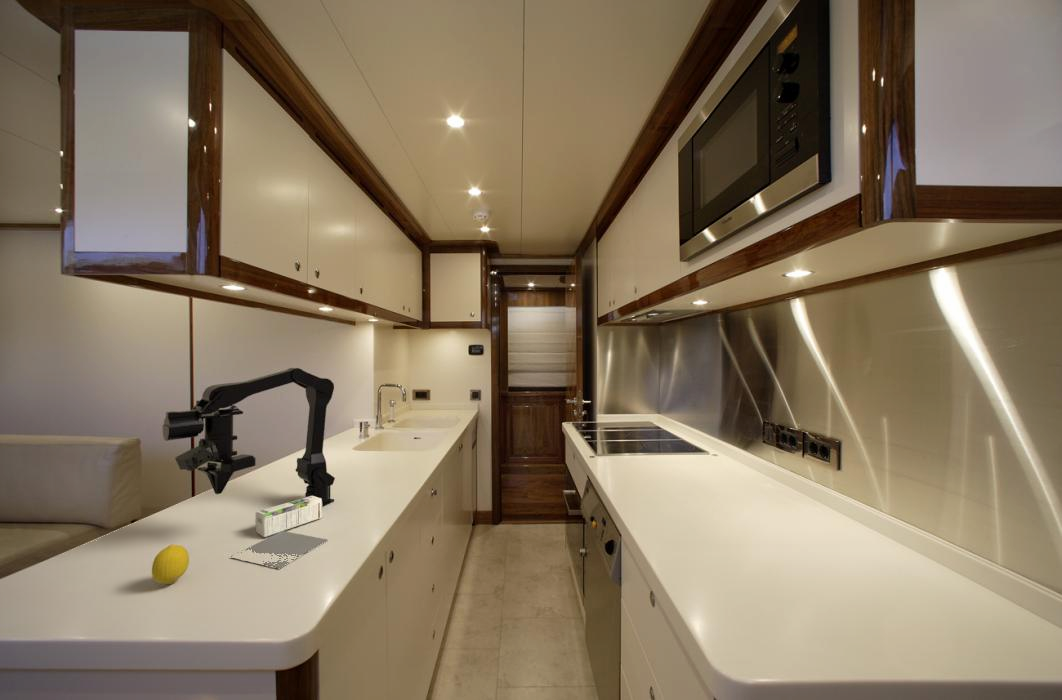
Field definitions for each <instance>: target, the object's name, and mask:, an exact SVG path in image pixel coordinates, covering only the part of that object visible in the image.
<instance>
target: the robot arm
mask: <svg viewBox="0 0 1062 700" xmlns="http://www.w3.org/2000/svg"><path fill="white" fill-rule="evenodd" d="M291 383H294V384H296V385H297V386H299V387H301V388H303V389H305V397H306V400H307V402H308V403H307V404H308V406H309V409H308V418H307V419H308V420H307V432H306V441H305V452H304V454H303V456H302V457H297V458H296V468H295V470H294V471H295V472H296V473H297V477H299V478H300V479H301V480H303V483H304V484H306V485H307V486H306V488H305V489H306V490H305V491H306V492H305V494H304V496H305V497H304V498H306V497H309V496H315V497H318V498H321V499H322V508H323V507H325V506H327V505H329V504H331V503H333V502H334V501H335V499H334V498H331V486H333V484H334V483H335V479H336V477H334V476H333V475H332V474H330V473H329V472H328V469H327V461H326V458H325V455H324V438H325V430H326V429H325V428H326V417H327V407H328V405H329V404H330V402H331V400H332V399H333V398H332V397H333V394H334V391H335V390H334V389H335V384H334V382H333V381H332V380H331V379H330V378H326V377H319V376H317V375H315V374H312V373H310V372H307V371H305V370H303V369H301V368H300V367H290V368H289V367H288V368H287V369H285V370H282V371H277V372H274V373H269V374H267V375H264V376H259V377H256V378H252V379H248V380H244V381H238V382H227V383H220V384H213V385H210V386H208V387H206V388H205V389H204V391H203V392H202V395H201V396H202V398H200V400H199V401H198V402H197V403H196V404H195V405H194V406H193V408H192V409H191V410H181V411H175V410H174V411H166V412H165V418H164V421H163V424H162V436H163V439H164V440H163V441H165V442H168V441H175V440H183V439H189V438H195V437H198V436H199V434H202V433H203V432H204V437H203V438H200V439H199V441H198V445H197V446H195V447H194V448H190V449H188V450H187V451H185V452H183V453H181V454H179V455H177V456H175V458H174V459H175V462H176V463H177V466H178V468H179V470H186V471H188V472H191V471H194V470H196V469H197V471H199V472H202V473H203V474H205V475H207V478H208V480H209V482H210V485H211V487H212V489H213V491H214V494H215V495H219V494H222V493H223V491H224V490H225V488H226V486H227V485H228V482H229V480H230V479H231V477H232V476H233V474H234V473H235V472H237V471H241V470H245V469H249V468H252V467H255V466H256V465H257V463H256V460H257V459H256V457H255V456H254V455H251V454H244V453H241V454H239V455H238V450H234V441H237V440H238V435H234V416H236V415H243V414H244V411H243V410H240V408H238V406H237V405H235V404H238V403H240V402H242V401H243V400H245V399H247V398H248V397H250V396H253V395H255V394H258V393H263V392H266V391H268V390H272V389H275V388H279V387H282V386H286V385H289V384H291Z"/></svg>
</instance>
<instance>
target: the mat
mask: <svg viewBox="0 0 1062 700" xmlns="http://www.w3.org/2000/svg"><path fill="white" fill-rule="evenodd" d="M326 541H327V542H328V539H326V538H321V537H315V536H312V535H310V536H309V535H307V534H306V535H305V534H300V533H296V532H290V531H287V530H284V531H282V532H279V533H276V534H273V535H270V536H268V537H267V538H264V539H263V540H261V541H259V542H257V543H255V544H253V545H251V546H249V547H247V548H245V549H246V550H248V549H249V550H251V549H252V552H253V553H254V551H255V552H256V553H260V554H261V553H264V554H265V553H269V554H272V553H274V554H275V555H277V554H281V555H282V554H284V555H283V556H286V557H288V556H287V555H286V554H288V555H291V556H296V554H297V556H296V557H299V555H302V554H304V553H306V552H308V551H309V550H311V549H313V548H315V547H317V546H318V545H320V544H322V543H323V544H325V543H326ZM324 542H325V543H324ZM323 544H322V545H323ZM320 546H321V545H320ZM250 547H251V548H250ZM318 547H319V546H318ZM318 547H317V548H318ZM245 549H244V550H245ZM315 549H316V548H315ZM246 550H245V551H246ZM313 550H314V549H313ZM239 552H240V551H239ZM239 552H237V553H239ZM241 553H242V552H241ZM285 553H286V554H285ZM308 553H309V552H308ZM292 554H295V555H292ZM233 555H234V554H233ZM233 555H230V556H231V557H232V556H233ZM281 555H277V556H279V557H282V556H281ZM271 556H273V555H271ZM282 558H283V557H282ZM294 558H295V557H294ZM271 559H272V558H271ZM279 559H281V558H279ZM286 559H288V558H286ZM286 559H284V560H286ZM291 560H294V559H291ZM279 561H281V560H278V561H277V562H272V563H271V562H269V561H268V562H269V563H267V562H265V563H263V564H264V565H268V566H273V567H276V568H281V567H282V566H284V565H285V564H287V563H289V562H287V561H288V560H287V561H283V562H279ZM263 562H264V561H263ZM275 563H277V564H275ZM273 564H275V565H273ZM281 569H282V568H281Z"/></svg>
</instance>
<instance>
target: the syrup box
mask: <svg viewBox="0 0 1062 700" xmlns="http://www.w3.org/2000/svg"><path fill="white" fill-rule="evenodd" d="M322 518H323V507H322V499H321V498H318V497H315V496H309V497H306V498H305V497H303V498H298V499H296V500H293V501H289V502H285V503H281V504H278V505H275V506H271V507H267V508H265V509H261V510H258V511H255V530H256V531H255V532H256V534H258V535H260V536H262V537H263V538H266V537H267V538H268V537H271V536H273V535H275V534H277V533H279V532H282V531H287V530H290V529H293V528H295V527H298V526H301V525H304V524H308V523H310V522H313V521H316V520H319V519H322Z"/></svg>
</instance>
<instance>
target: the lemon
mask: <svg viewBox="0 0 1062 700" xmlns="http://www.w3.org/2000/svg"><path fill="white" fill-rule="evenodd" d="M189 564H190V555H189V552H188V550H187V548H185V547H184V546H182V545H178V544H176V545H175V544H169V545H168V546H167V547H165V548H163V549H162V550H161V551H159V553H157V554H156V556H155V557H154V559H153V561H152V566H151V575H152V578H153V579H154V580H155V581H156V582H157V583H159V584H167V585H172V584H173V583H174V582H175V581H176V580H179V579H180V578H181V577H182V576H183V575H184V574H186V572H187V570H188V567H189Z"/></svg>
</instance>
